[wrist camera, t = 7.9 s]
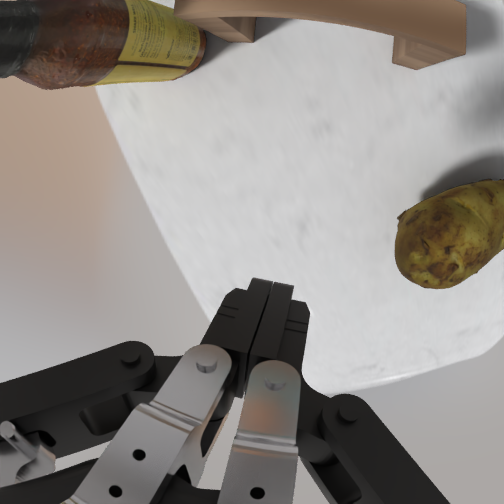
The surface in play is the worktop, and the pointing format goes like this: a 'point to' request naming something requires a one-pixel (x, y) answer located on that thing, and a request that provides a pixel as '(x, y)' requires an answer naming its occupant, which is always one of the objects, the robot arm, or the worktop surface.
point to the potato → (451, 234)
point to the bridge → (346, 22)
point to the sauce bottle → (95, 42)
